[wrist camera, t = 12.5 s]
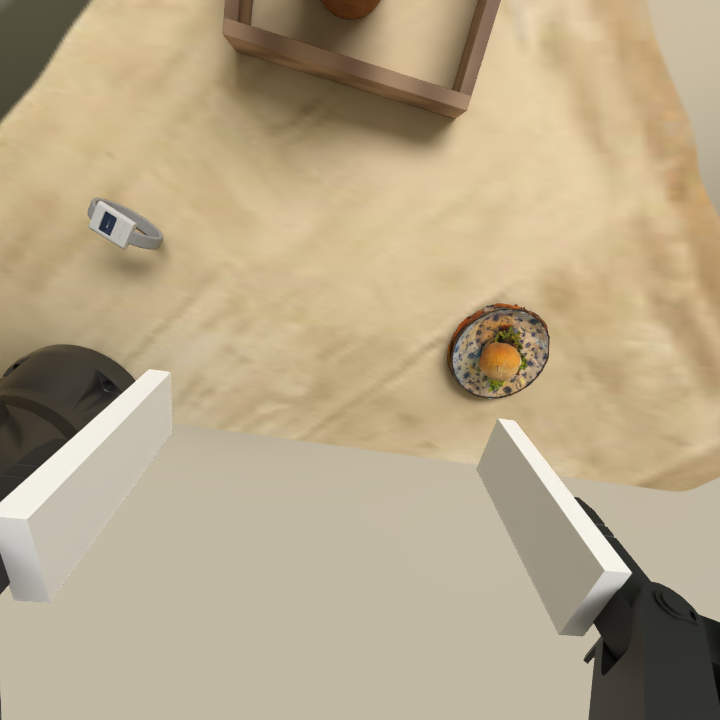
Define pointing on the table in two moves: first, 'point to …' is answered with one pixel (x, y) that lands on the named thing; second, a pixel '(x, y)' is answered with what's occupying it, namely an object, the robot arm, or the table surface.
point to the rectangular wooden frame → (360, 72)
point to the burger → (498, 351)
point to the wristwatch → (122, 225)
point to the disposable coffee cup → (350, 7)
